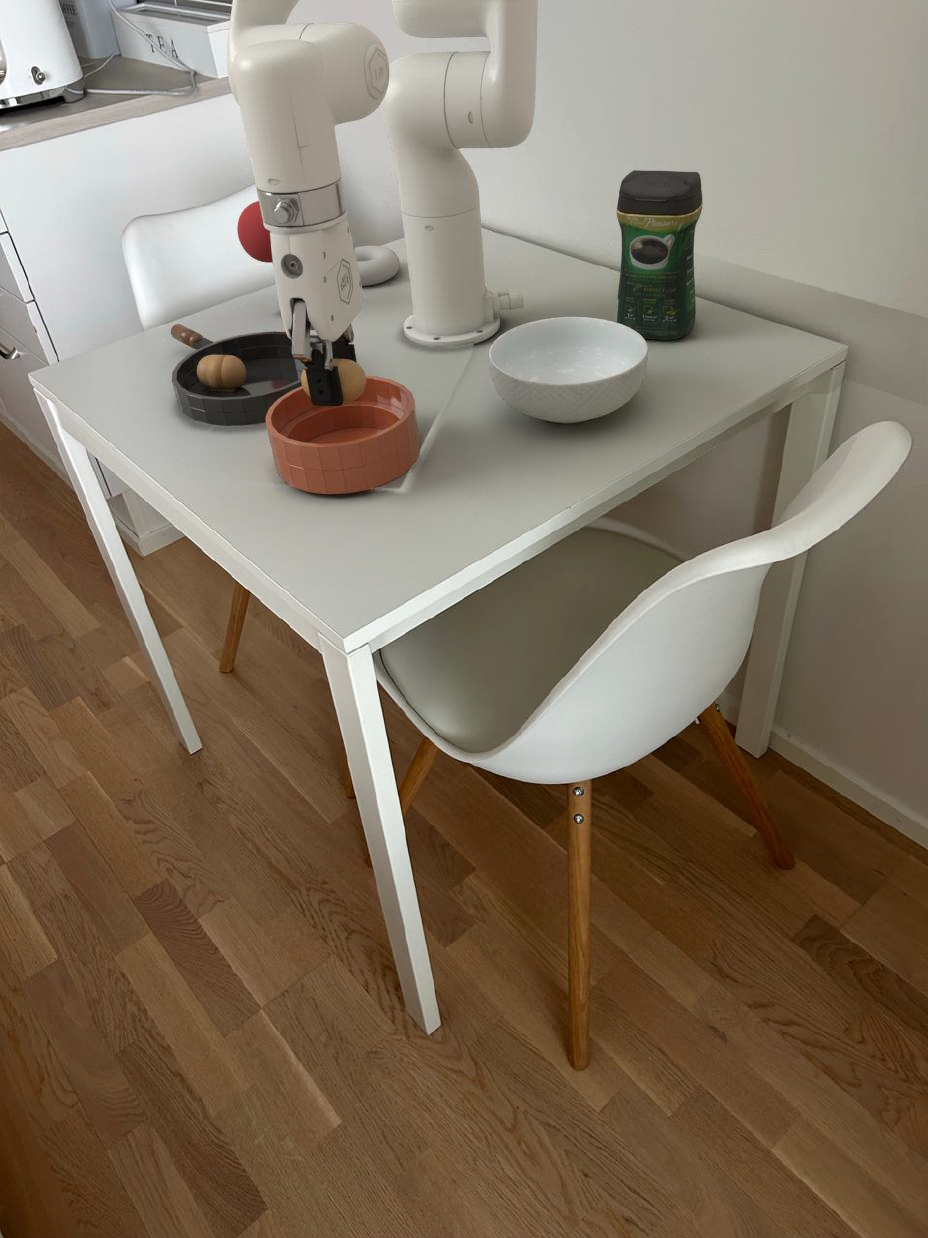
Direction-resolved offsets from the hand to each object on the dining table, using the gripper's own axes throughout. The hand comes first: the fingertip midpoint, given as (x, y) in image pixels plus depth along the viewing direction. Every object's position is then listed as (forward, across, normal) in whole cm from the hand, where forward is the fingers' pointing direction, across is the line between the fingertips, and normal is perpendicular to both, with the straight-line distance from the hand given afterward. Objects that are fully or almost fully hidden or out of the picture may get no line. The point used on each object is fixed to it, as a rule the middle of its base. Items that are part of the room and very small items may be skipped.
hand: (336, 391), depth 97 cm
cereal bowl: (+8, +14, -21) cm, 27 cm away
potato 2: (+1, 0, 0) cm, 1 cm away
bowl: (+8, 0, 0) cm, 8 cm away
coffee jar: (+8, +35, -29) cm, 46 cm away
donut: (+8, +52, +14) cm, 55 cm away
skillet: (+8, +15, +17) cm, 23 cm away
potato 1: (+7, +15, +20) cm, 26 cm away
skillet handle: (+6, +22, +28) cm, 36 cm away
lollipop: (+8, +38, +22) cm, 45 cm away
